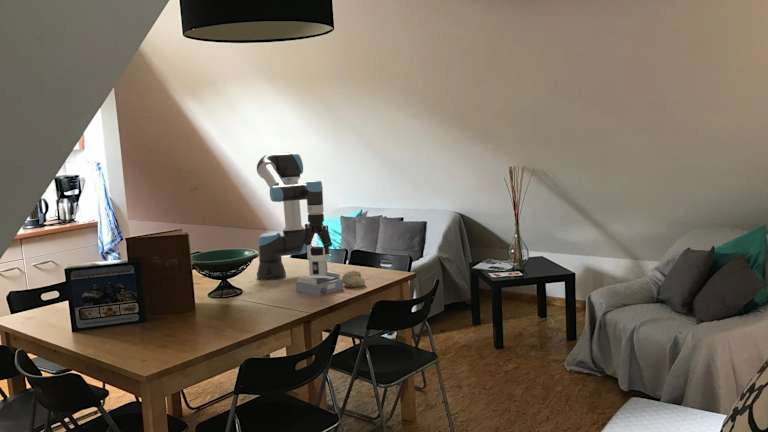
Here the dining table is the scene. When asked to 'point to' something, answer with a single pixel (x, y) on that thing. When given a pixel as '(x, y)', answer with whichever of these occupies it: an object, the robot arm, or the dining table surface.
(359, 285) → the decorative item
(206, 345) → the dining table surface
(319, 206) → the robot arm
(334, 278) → the grey low rectangular block
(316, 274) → the container
